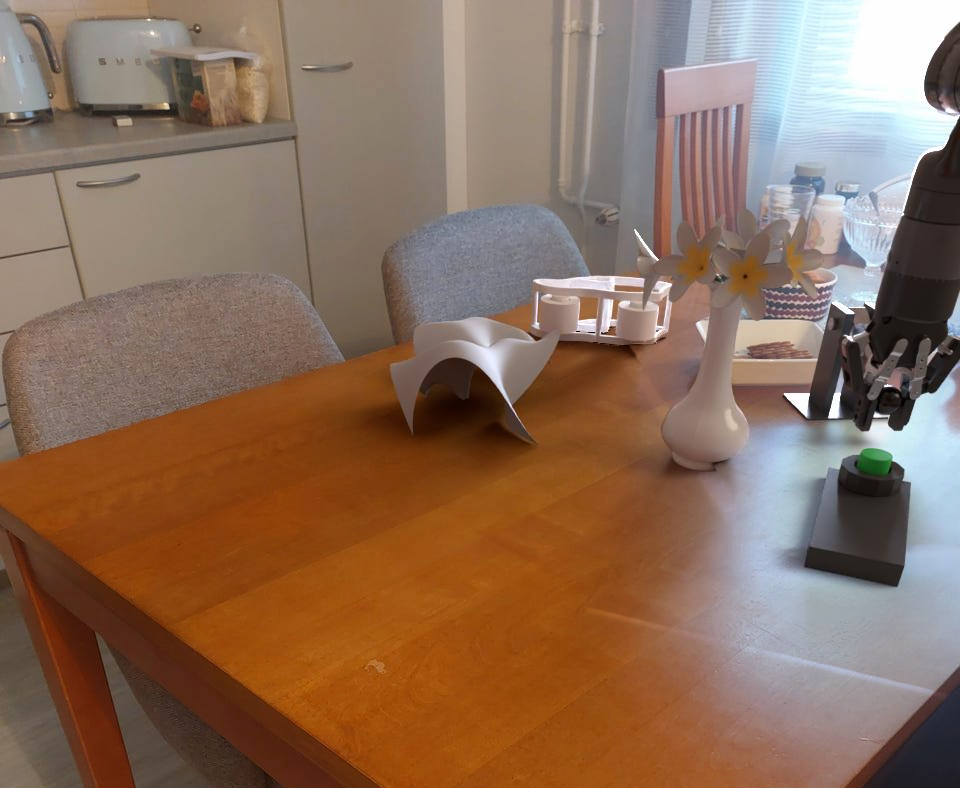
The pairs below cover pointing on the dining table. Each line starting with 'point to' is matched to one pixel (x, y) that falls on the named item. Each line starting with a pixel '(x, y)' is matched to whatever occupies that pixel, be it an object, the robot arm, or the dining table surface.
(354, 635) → the dining table surface
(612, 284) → the car outline toy
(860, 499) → the dark box
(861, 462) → the green button
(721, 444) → the flower vase
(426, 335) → the sculpture
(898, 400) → the switch lever
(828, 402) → the lever bracket
